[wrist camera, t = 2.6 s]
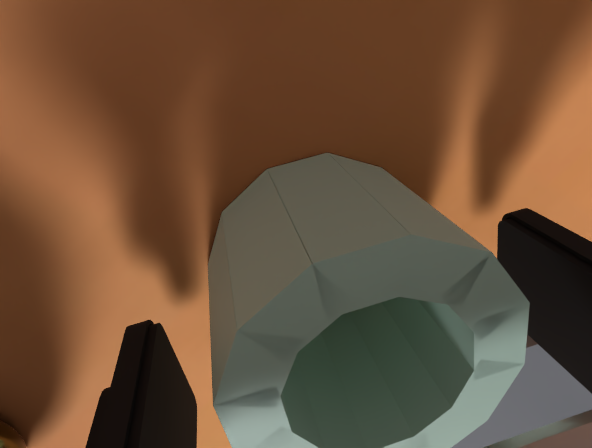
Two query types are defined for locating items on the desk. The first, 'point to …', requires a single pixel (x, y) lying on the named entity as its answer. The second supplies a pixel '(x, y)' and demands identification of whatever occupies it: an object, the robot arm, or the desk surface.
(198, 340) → the desk surface
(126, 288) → the desk surface
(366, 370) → the bead
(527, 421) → the board
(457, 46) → the desk surface
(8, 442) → the cup
